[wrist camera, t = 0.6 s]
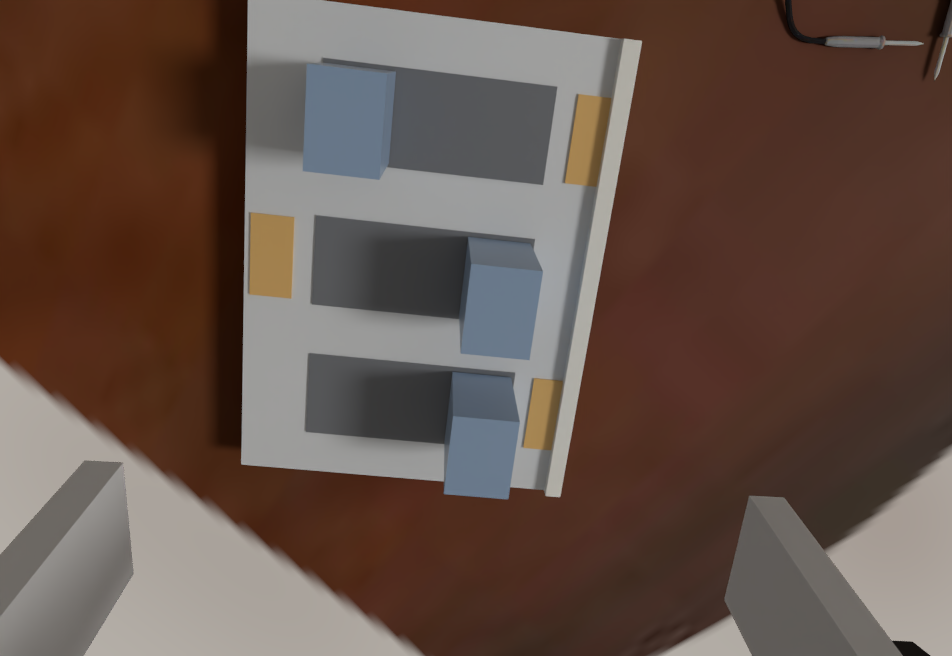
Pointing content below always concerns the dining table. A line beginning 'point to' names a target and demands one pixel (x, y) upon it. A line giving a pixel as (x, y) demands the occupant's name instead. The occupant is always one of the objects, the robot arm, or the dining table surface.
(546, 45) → the switch bank
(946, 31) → the multimeter
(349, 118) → the tab
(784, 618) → the robot arm
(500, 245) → the tab
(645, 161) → the dining table surface
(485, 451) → the tab
